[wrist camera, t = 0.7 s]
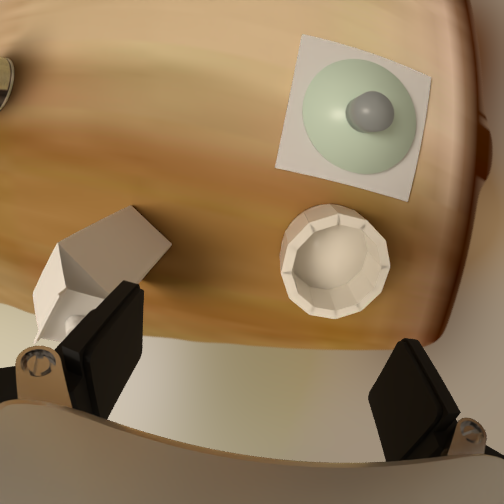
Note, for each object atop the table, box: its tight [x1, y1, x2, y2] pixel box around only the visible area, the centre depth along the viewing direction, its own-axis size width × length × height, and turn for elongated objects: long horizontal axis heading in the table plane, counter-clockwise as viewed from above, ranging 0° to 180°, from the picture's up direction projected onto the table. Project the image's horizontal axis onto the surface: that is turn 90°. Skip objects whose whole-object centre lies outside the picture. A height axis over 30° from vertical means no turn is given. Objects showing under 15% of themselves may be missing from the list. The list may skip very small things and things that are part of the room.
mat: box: [275, 34, 431, 202], centre depth 30 cm, size 16×16×1 cm
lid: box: [302, 59, 416, 174], centre depth 27 cm, size 13×13×5 cm
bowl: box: [280, 204, 390, 319], centre depth 32 cm, size 11×11×6 cm
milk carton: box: [33, 205, 172, 344], centre depth 27 cm, size 7×7×19 cm
